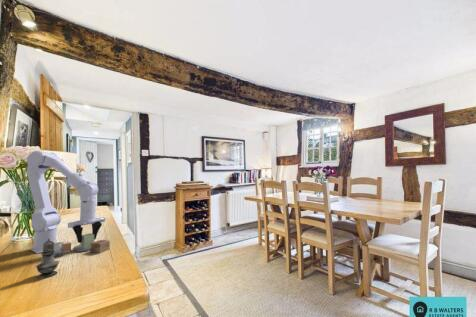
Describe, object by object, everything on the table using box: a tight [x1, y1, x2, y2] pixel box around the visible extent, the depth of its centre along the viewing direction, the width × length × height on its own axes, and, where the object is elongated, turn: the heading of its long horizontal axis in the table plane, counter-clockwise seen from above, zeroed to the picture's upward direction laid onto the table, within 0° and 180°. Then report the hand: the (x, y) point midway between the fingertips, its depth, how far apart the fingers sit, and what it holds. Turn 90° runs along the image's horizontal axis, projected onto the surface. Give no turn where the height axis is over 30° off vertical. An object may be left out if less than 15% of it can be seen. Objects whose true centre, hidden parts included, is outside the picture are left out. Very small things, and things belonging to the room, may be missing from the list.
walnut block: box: [89, 239, 111, 254], centre depth 98 cm, size 5×5×4 cm
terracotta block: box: [62, 241, 72, 253], centre depth 97 cm, size 4×6×4 cm, turn 146°
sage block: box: [79, 232, 95, 248], centre depth 101 cm, size 4×4×5 cm
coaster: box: [72, 244, 91, 253], centre depth 101 cm, size 10×10×1 cm
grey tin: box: [54, 241, 64, 259], centre depth 92 cm, size 4×4×5 cm
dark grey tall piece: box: [35, 239, 60, 280], centre depth 75 cm, size 6×6×12 cm
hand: (86, 240), depth 101 cm, fingers open, 5 cm apart
